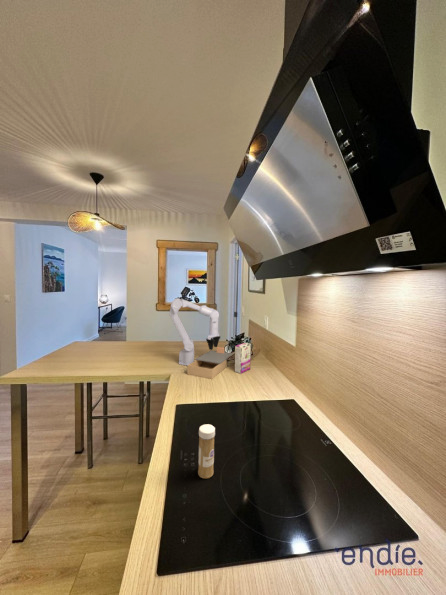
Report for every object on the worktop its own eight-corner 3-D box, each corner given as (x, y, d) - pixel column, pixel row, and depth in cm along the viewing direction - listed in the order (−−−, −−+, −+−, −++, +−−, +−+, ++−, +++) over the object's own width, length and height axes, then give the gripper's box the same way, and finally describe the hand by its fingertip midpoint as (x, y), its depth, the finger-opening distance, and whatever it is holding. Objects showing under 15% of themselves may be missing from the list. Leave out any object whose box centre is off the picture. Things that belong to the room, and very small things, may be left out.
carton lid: (195, 359, 157) (195, 353, 157) (210, 351, 178) (210, 345, 178) (220, 363, 151) (220, 357, 151) (232, 354, 172) (233, 348, 172)
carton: (187, 374, 148) (187, 365, 148) (204, 363, 168) (204, 355, 168) (212, 379, 142) (212, 369, 142) (226, 367, 162) (226, 358, 162)
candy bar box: (243, 367, 163) (244, 342, 162) (250, 369, 160) (251, 343, 159) (233, 372, 154) (234, 345, 153) (240, 374, 151) (241, 347, 150)
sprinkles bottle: (209, 481, 70) (211, 434, 69) (195, 476, 71) (196, 430, 70) (216, 470, 74) (217, 425, 73) (202, 465, 76) (203, 422, 75)
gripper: (214, 330, 159) (214, 351, 160) (223, 326, 173) (222, 346, 174) (204, 329, 162) (204, 350, 163) (214, 325, 176) (213, 345, 176)
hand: (213, 348), depth 169 cm, fingers open, 7 cm apart
